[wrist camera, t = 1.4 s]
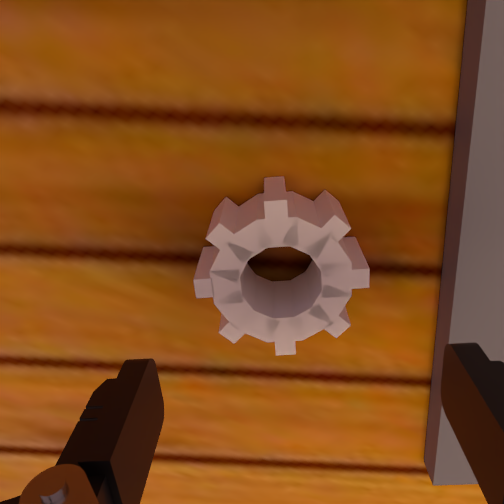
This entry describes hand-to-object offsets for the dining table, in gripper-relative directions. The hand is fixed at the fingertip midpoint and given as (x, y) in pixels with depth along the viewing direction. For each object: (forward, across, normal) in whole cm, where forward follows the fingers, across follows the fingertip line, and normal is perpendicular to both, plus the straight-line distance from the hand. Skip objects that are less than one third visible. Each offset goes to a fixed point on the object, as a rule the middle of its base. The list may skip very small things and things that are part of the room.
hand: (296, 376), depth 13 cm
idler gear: (+8, 0, 0) cm, 8 cm away
